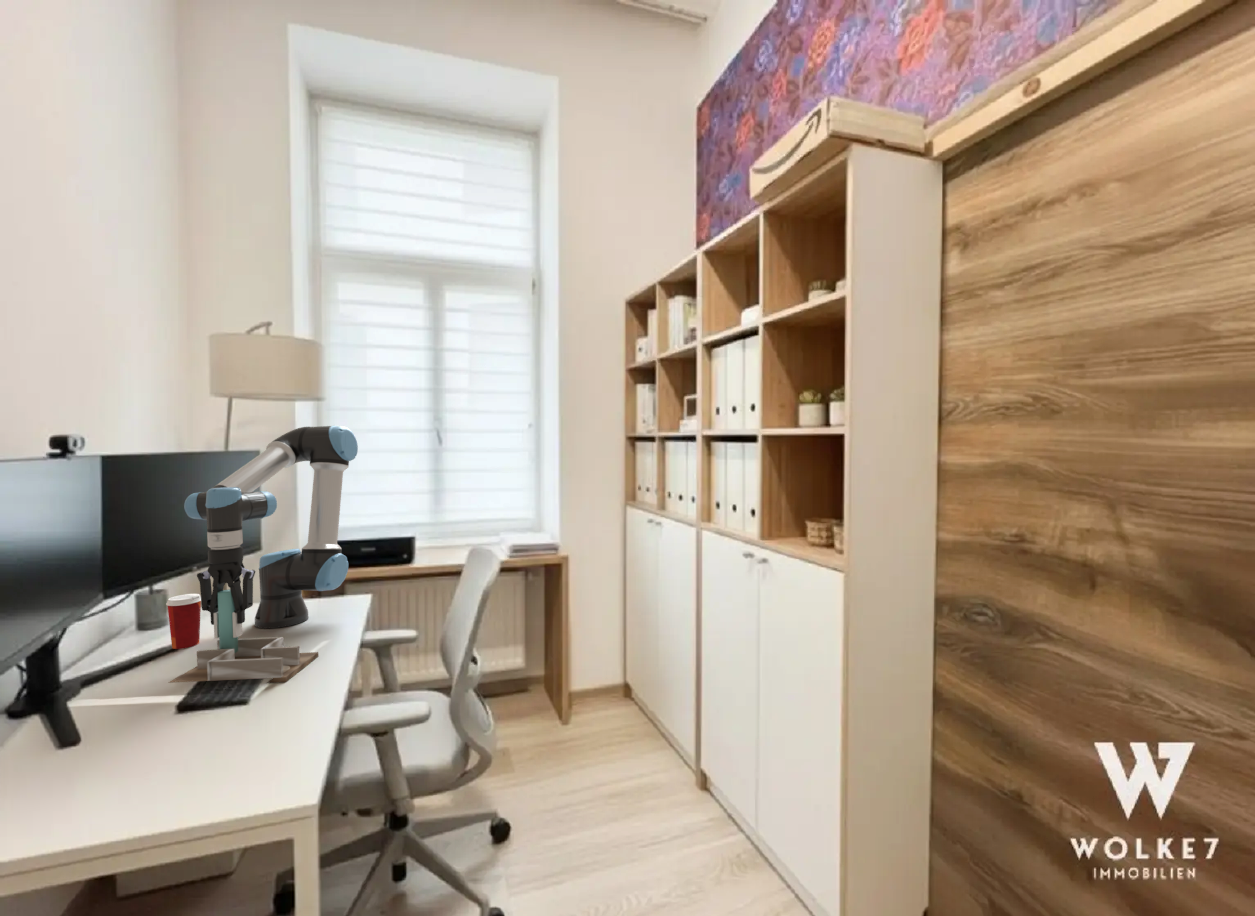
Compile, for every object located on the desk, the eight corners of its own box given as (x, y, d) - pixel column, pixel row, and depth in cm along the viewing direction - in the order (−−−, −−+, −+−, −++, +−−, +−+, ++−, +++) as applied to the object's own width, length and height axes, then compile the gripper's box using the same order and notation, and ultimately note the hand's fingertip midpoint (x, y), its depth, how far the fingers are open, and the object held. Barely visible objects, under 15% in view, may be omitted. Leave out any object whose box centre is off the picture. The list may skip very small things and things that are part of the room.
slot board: (214, 660, 155) (213, 639, 155) (318, 656, 157) (317, 635, 156) (168, 687, 138) (167, 663, 138) (285, 682, 140) (285, 658, 140)
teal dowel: (225, 649, 152) (223, 589, 152) (241, 649, 153) (239, 589, 152) (216, 655, 148) (213, 593, 148) (232, 654, 149) (230, 592, 148)
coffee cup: (211, 644, 168) (209, 593, 168) (186, 654, 160) (185, 600, 160) (184, 643, 169) (182, 593, 169) (159, 654, 161) (157, 600, 160)
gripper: (181, 550, 146) (184, 642, 146) (250, 548, 147) (253, 639, 147) (201, 545, 153) (204, 632, 154) (267, 543, 154) (270, 630, 155)
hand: (228, 636), depth 150 cm, fingers closed on teal dowel, 4 cm apart
